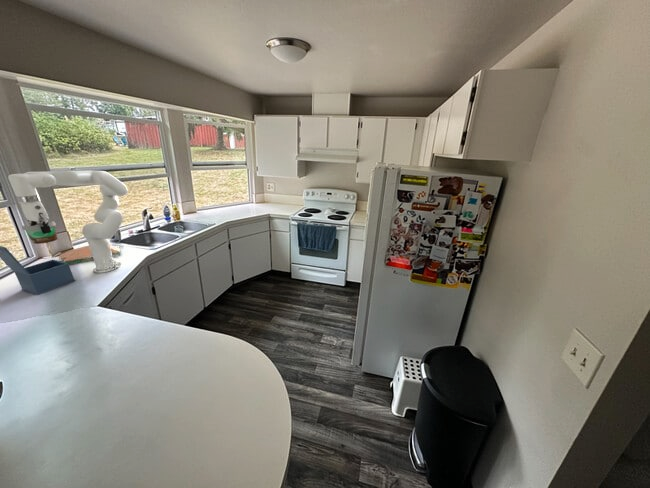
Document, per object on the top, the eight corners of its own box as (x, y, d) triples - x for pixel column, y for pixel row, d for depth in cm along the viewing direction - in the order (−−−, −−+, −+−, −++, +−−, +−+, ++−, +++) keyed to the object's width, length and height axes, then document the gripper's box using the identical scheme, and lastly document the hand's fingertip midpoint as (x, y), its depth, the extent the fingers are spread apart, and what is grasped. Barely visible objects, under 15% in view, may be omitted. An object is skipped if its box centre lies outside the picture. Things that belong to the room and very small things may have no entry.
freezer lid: (-11, 243, 127) (-25, 248, 123) (5, 247, 123) (-9, 253, 119) (14, 269, 137) (1, 275, 133) (30, 274, 132) (17, 280, 128)
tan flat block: (63, 256, 184) (59, 245, 181) (119, 246, 204) (117, 237, 201) (59, 266, 168) (55, 255, 165) (121, 255, 188) (118, 245, 185)
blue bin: (59, 276, 155) (52, 259, 151) (74, 280, 151) (68, 263, 147) (22, 289, 141) (13, 270, 137) (38, 294, 136) (29, 275, 132)
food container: (29, 246, 128) (20, 228, 125) (28, 243, 132) (20, 225, 128) (62, 240, 137) (55, 223, 133) (61, 237, 141) (54, 220, 137)
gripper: (49, 199, 127) (62, 232, 134) (28, 196, 132) (41, 228, 139) (29, 201, 121) (43, 236, 127) (8, 199, 125) (22, 232, 132)
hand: (42, 231), depth 133 cm, fingers closed on food container, 7 cm apart
